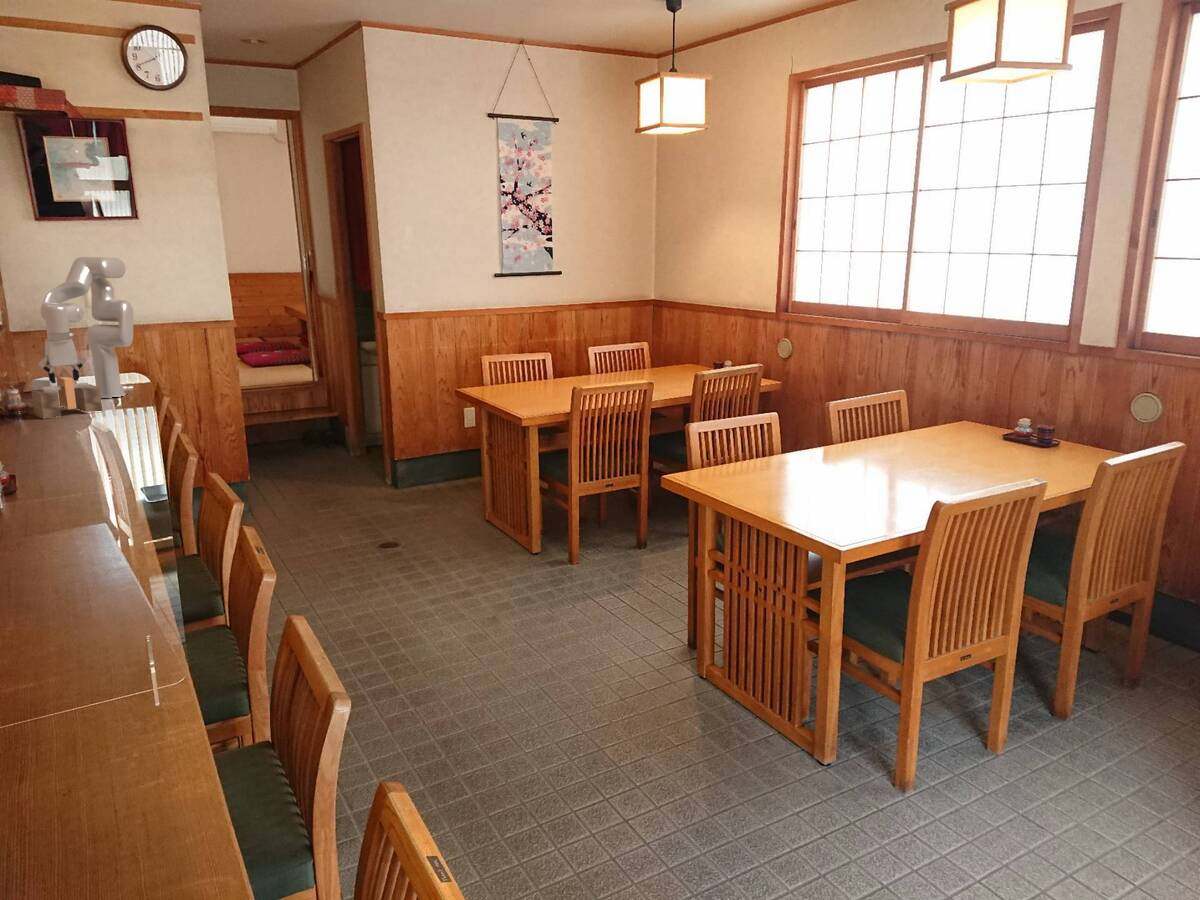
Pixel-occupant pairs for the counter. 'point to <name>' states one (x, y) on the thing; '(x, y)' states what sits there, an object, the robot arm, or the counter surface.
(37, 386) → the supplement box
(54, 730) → the counter surface
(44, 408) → the shelf
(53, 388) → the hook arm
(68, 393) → the orange wooden block
